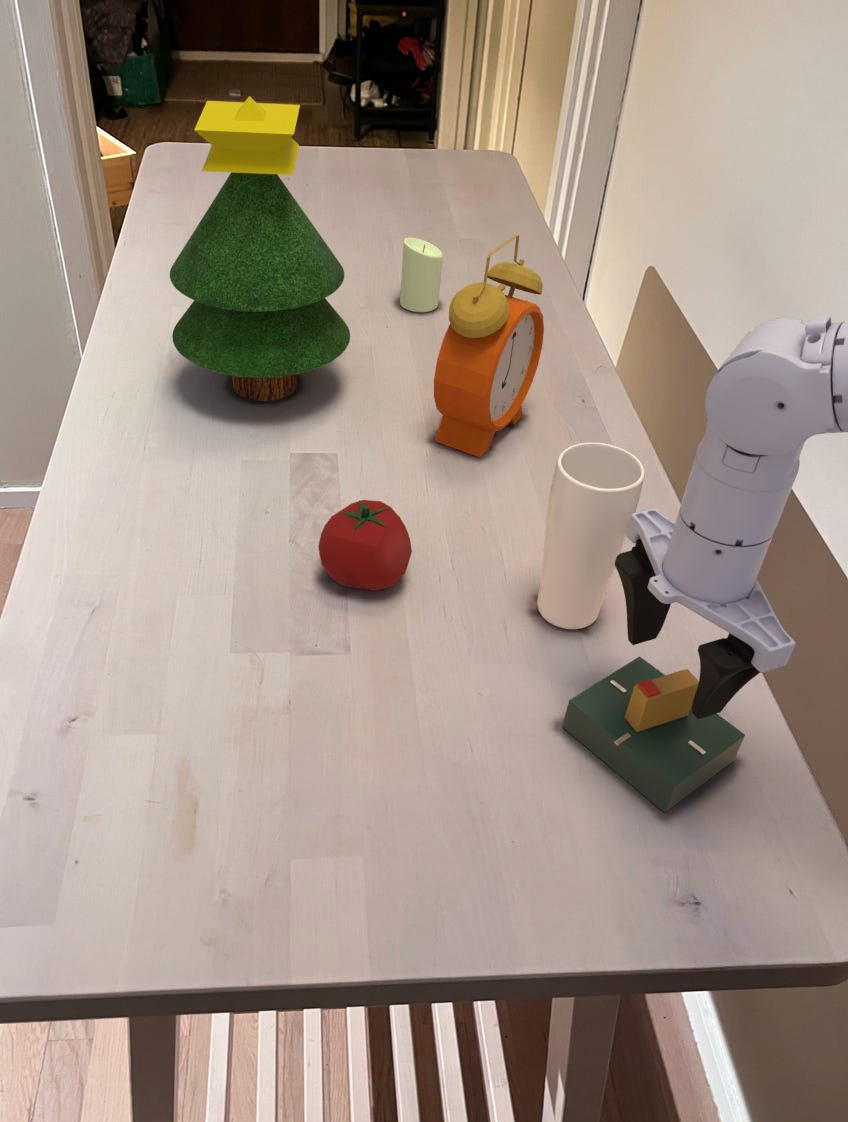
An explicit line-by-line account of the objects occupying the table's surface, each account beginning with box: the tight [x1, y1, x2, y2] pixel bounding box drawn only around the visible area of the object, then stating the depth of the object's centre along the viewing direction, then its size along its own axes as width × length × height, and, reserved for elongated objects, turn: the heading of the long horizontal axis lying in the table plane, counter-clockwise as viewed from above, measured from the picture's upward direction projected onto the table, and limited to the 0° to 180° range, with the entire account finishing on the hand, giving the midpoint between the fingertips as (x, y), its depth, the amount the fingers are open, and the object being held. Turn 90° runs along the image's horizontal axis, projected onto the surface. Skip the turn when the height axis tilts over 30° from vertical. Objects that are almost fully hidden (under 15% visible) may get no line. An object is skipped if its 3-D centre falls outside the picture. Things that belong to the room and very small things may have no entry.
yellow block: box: [625, 668, 699, 732], centre depth 72 cm, size 5×2×4 cm, turn 113°
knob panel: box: [561, 656, 746, 813], centre depth 74 cm, size 10×9×3 cm
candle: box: [399, 237, 444, 313], centre depth 126 cm, size 5×5×8 cm
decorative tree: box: [169, 95, 351, 402], centre depth 102 cm, size 19×19×30 cm
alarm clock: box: [433, 234, 545, 458], centre depth 100 cm, size 13×6×20 cm, turn 148°
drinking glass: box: [536, 442, 646, 630], centre depth 81 cm, size 7×7×15 cm
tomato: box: [317, 499, 413, 591], centre depth 86 cm, size 8×8×7 cm
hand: (673, 674), depth 70 cm, fingers open, 7 cm apart
